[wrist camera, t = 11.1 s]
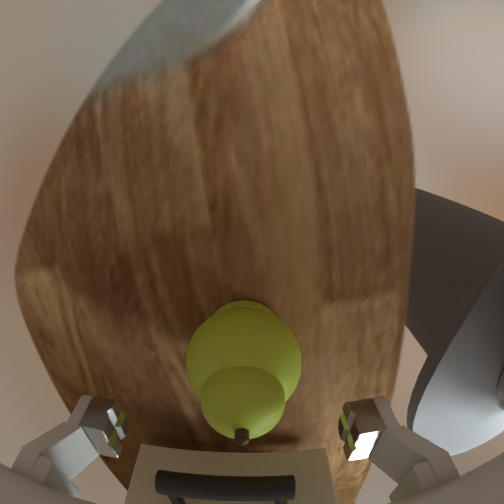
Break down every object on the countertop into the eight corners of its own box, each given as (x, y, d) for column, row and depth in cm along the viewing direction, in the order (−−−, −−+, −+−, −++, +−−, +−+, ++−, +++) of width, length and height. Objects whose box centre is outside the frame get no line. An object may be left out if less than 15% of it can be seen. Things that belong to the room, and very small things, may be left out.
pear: (297, 286, 14) (330, 394, 7) (290, 366, 16) (307, 472, 9) (190, 286, 14) (151, 392, 7) (199, 366, 16) (179, 471, 9)
